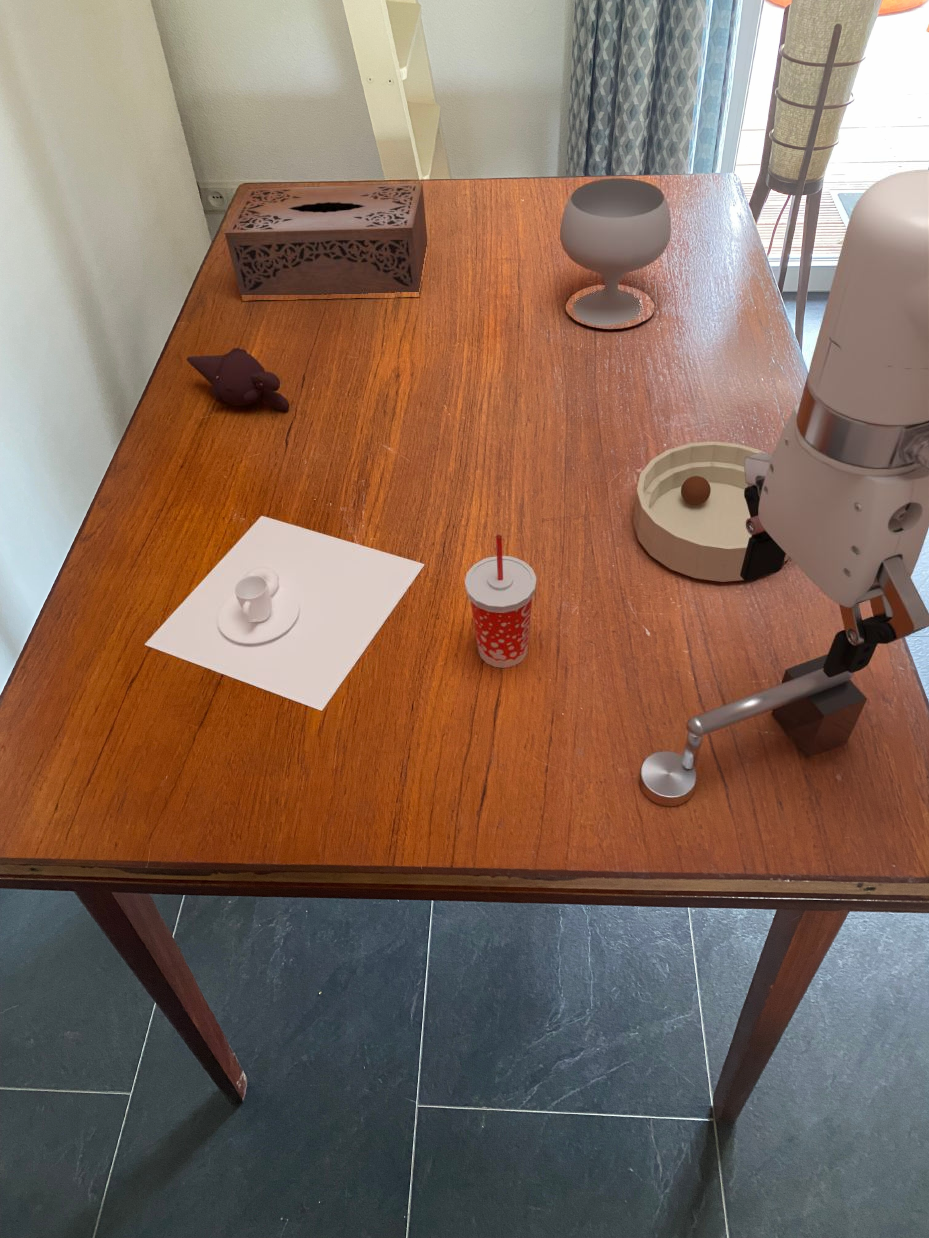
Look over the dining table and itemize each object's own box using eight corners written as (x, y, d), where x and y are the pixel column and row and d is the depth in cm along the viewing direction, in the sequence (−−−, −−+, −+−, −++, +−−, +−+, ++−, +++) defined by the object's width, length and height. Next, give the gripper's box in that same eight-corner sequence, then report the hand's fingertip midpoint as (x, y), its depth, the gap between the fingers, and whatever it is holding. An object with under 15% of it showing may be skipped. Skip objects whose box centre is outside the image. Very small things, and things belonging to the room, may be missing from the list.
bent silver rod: (814, 700, 78) (835, 643, 72) (846, 739, 75) (871, 682, 69) (629, 770, 74) (637, 715, 69) (656, 814, 71) (666, 760, 66)
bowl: (738, 463, 100) (745, 426, 96) (829, 556, 89) (842, 518, 86) (606, 504, 96) (609, 467, 93) (685, 605, 86) (691, 568, 82)
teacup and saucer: (253, 572, 92) (244, 543, 89) (319, 594, 90) (312, 564, 87) (202, 632, 87) (190, 603, 84) (270, 656, 85) (261, 627, 82)
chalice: (675, 329, 119) (689, 215, 108) (570, 342, 118) (574, 228, 107) (646, 278, 129) (656, 168, 117) (549, 290, 128) (550, 181, 117)
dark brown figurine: (158, 359, 109) (257, 399, 105) (195, 317, 112) (293, 354, 107) (180, 398, 115) (275, 437, 111) (214, 357, 118) (308, 394, 113)
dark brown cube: (810, 698, 78) (827, 653, 74) (847, 742, 75) (867, 698, 70) (771, 713, 77) (785, 669, 73) (806, 759, 74) (823, 715, 70)
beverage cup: (506, 685, 81) (502, 574, 70) (456, 651, 84) (445, 540, 73) (549, 645, 84) (552, 533, 73) (500, 614, 87) (495, 502, 76)
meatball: (698, 489, 96) (702, 467, 94) (714, 506, 94) (718, 483, 92) (673, 497, 96) (677, 475, 94) (688, 514, 94) (692, 491, 92)
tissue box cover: (242, 301, 131) (224, 233, 123) (263, 254, 140) (248, 188, 133) (419, 297, 129) (412, 228, 121) (428, 250, 138) (422, 183, 131)
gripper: (1041, 486, 46) (929, 691, 59) (829, 326, 57) (773, 528, 70) (920, 527, 44) (832, 729, 57) (726, 354, 55) (688, 556, 68)
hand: (800, 618), depth 63 cm, fingers open, 9 cm apart
